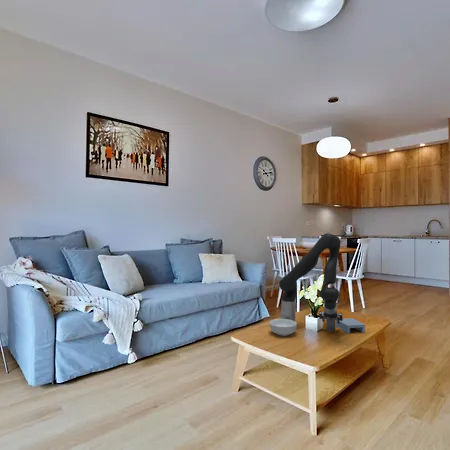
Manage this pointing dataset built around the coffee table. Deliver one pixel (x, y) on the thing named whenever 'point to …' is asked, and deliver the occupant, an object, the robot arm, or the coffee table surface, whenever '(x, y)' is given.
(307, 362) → the coffee table surface
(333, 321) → the dark grey cylinder
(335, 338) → the coffee table surface
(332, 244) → the robot arm
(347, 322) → the bench shelf
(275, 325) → the cereal bowl
